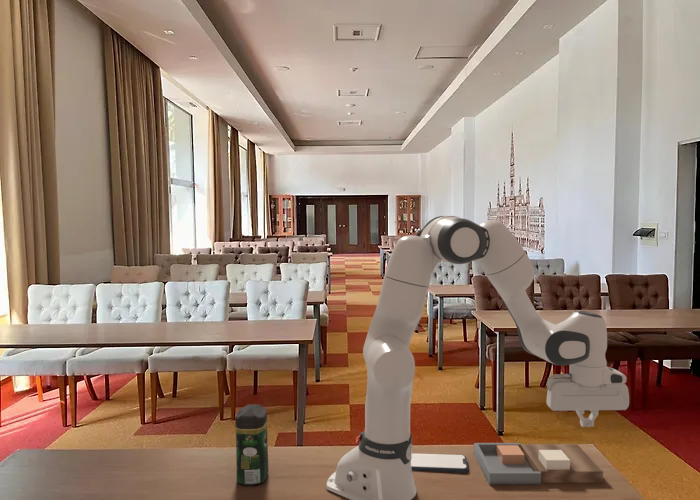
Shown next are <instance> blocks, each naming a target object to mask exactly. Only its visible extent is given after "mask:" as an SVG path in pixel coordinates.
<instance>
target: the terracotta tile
mask: <svg viewBox="0 0 700 500" xmlns="http://www.w3.org/2000/svg"><path fill="white" fill-rule="evenodd" d="M497 456H498V457H499V459H500V461H501V462H502V464H524V460H525V455H524V453H523V452H522V450H521V449H520V448H519V446H518V445H497Z"/></svg>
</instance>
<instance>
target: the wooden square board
mask: <svg viewBox="0 0 700 500" xmlns="http://www.w3.org/2000/svg"><path fill="white" fill-rule="evenodd" d="M520 444H521V443H520ZM521 450H522V452H523V453H524V455H525V460H526V462H527V463H528V464H529V466H530V467H531V469H532V470H533V471H540V472H541V484H548V483H549V484H556V483H557V484H565V483H566V484H603V483H604V470H602V469H601V467H600V466H599V465H598V464H597V463H595V461H594V460H593V459H592V458H591V457H590V456H589V455H588V454H587V453H586V452H585V450H583V449H582V448H581V447H580V446H579V444H577V443H576V444H569V443H568V444H567V443H566V444H563V443H562V444H547V443H545V444H544V443H543V444H537V443H536V444H531V443H530V444H527V443H526V444H521ZM539 450H562V451H563V453H564V454H565V455H566V456H567V457H568V458H569V460H570V470H546V469H545V467H544V466H543V464H542V463H541V462H540V460H539V459H538V455H539Z"/></svg>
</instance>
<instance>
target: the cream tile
mask: <svg viewBox="0 0 700 500" xmlns="http://www.w3.org/2000/svg"><path fill="white" fill-rule="evenodd" d="M538 459H539V460H540V462H541V463H542V464H543V466H544V467H545V469H546V470H570V460H569V458H568V457H567V456H566V455H565V454H564V453H563V451H562V450H539V455H538Z"/></svg>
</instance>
